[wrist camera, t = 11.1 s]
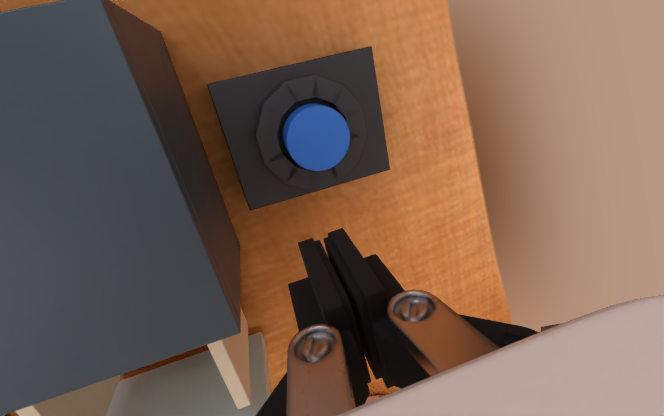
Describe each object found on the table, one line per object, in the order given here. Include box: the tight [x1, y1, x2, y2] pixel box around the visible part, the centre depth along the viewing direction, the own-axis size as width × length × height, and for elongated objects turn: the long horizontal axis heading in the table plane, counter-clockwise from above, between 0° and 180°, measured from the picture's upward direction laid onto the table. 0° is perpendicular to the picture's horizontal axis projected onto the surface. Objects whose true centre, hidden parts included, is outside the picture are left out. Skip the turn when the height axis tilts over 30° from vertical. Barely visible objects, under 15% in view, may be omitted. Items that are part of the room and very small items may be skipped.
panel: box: [208, 46, 390, 210], centre depth 22 cm, size 10×8×4 cm
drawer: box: [15, 308, 271, 416], centre depth 22 cm, size 19×11×8 cm, turn 12°
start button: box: [283, 103, 350, 171], centre depth 20 cm, size 4×4×2 cm
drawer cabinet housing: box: [0, 0, 241, 416], centre depth 17 cm, size 15×13×10 cm
